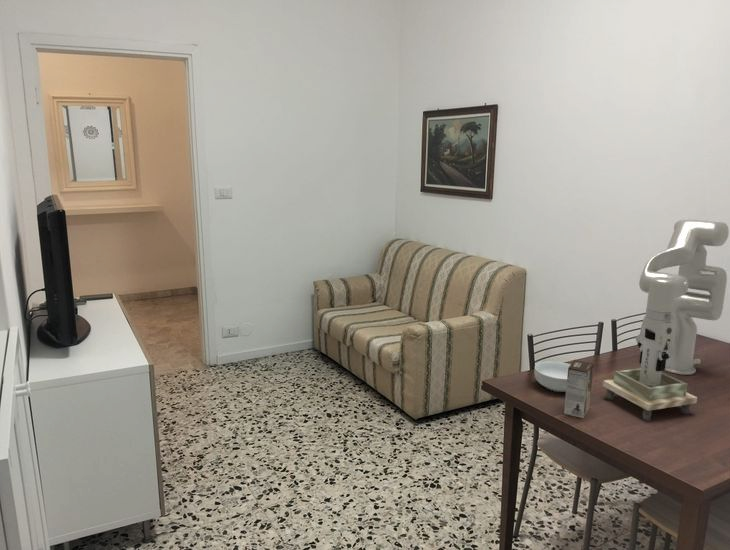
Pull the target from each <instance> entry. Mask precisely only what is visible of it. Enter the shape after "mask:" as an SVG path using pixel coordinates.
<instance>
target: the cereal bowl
mask: <svg viewBox="0 0 730 550" xmlns="http://www.w3.org/2000/svg"><path fill="white" fill-rule="evenodd" d="M570 365H571V364H570V363H566V362H561V361H554V360H553V361H552V360H551V361H549V360H548V361H547V360H546V361H540V362H538V363H536V364H535V366H534V368H533V369H534V370H533V371H534V372H533V373H534V378H535V379H536V381H537V382H538V384H540V385H541V386H543V387H545V388H546V389H547V390H549V389H550V390H549V391H552V390H553V392H557V393H566V387H567V376H568V368H569V366H570Z"/></svg>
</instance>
